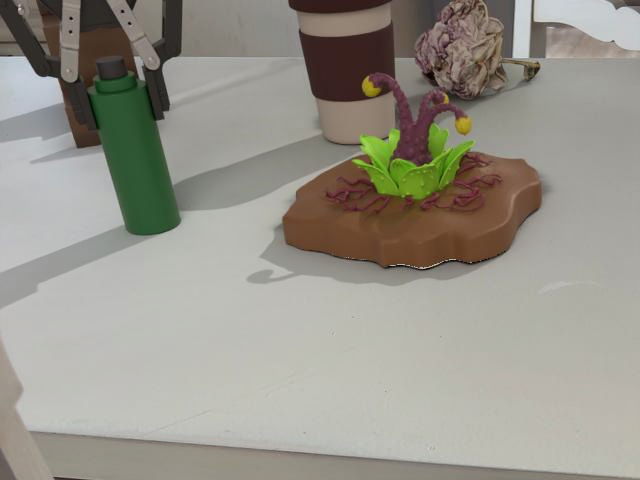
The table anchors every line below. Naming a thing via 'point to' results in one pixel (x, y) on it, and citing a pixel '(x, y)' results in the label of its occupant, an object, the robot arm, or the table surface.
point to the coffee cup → (348, 64)
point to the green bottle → (133, 148)
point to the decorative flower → (465, 51)
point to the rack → (86, 63)
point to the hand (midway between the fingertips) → (125, 122)
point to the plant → (414, 194)
